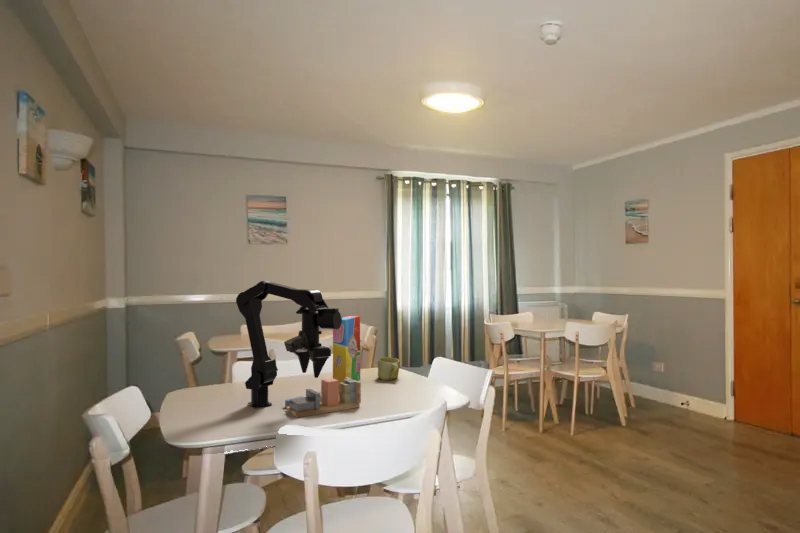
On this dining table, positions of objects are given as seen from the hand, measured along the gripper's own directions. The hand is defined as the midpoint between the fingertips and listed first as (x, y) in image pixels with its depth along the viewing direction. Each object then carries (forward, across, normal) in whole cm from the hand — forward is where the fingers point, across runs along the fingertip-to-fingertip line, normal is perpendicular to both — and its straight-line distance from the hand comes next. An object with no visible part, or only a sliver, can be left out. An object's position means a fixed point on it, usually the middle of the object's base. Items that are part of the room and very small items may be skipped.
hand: (310, 375), depth 166 cm
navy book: (+12, -8, 0) cm, 14 cm away
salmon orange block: (+10, 0, +7) cm, 13 cm away
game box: (+12, -28, +30) cm, 42 cm away
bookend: (+10, 0, -2) cm, 11 cm away
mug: (+12, -26, +50) cm, 57 cm away
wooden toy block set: (+12, +1, +5) cm, 13 cm away
